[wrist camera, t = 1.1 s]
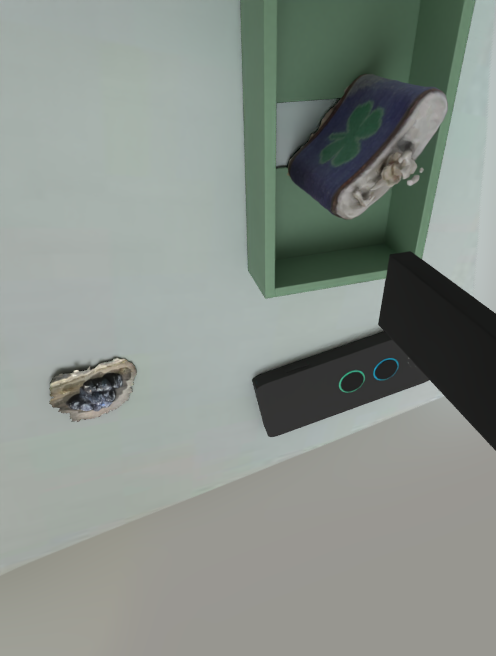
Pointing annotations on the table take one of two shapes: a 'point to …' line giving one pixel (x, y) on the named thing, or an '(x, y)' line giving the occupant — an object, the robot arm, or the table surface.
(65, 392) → the geode half
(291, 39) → the open box
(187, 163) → the table surface
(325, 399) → the smart home device
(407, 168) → the flask
